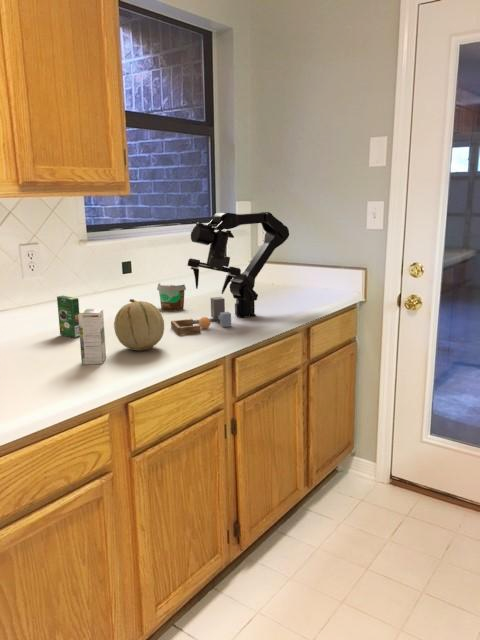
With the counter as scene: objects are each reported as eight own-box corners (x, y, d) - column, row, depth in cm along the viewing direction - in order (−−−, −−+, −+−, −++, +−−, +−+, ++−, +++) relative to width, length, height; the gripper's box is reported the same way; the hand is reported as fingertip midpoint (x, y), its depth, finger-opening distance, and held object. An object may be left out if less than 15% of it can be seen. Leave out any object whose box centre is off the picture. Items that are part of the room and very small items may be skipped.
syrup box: (85, 359, 150) (81, 308, 147) (107, 358, 151) (103, 307, 147) (81, 365, 145) (76, 313, 141) (103, 364, 145) (99, 312, 142)
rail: (224, 319, 194) (224, 317, 194) (225, 320, 193) (225, 317, 193) (183, 323, 189) (183, 321, 189) (184, 324, 188) (184, 321, 188)
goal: (192, 325, 186) (192, 318, 186) (200, 333, 176) (200, 325, 175) (171, 327, 184) (170, 320, 183) (178, 335, 174) (178, 327, 173)
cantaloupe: (150, 358, 149) (147, 306, 146) (105, 354, 154) (101, 303, 151) (174, 344, 163) (172, 296, 159) (132, 341, 168) (129, 294, 164)
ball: (208, 326, 184) (208, 315, 184) (212, 329, 181) (211, 317, 180) (197, 327, 183) (197, 316, 182) (200, 330, 180) (200, 318, 179)
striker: (221, 318, 195) (221, 296, 193) (232, 325, 184) (232, 303, 182) (211, 319, 194) (210, 297, 192) (221, 327, 182) (220, 304, 180)
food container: (152, 310, 213) (150, 285, 211) (160, 307, 219) (158, 283, 216) (179, 312, 209) (178, 286, 206) (186, 308, 214) (185, 284, 212)
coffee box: (82, 336, 174) (79, 297, 171) (75, 338, 172) (71, 298, 169) (67, 333, 179) (63, 295, 176) (59, 335, 177) (55, 296, 174)
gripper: (192, 241, 179) (183, 287, 180) (246, 252, 181) (237, 297, 182) (191, 242, 190) (183, 285, 191) (242, 253, 192) (234, 296, 193)
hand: (209, 291), depth 189 cm, fingers open, 9 cm apart
